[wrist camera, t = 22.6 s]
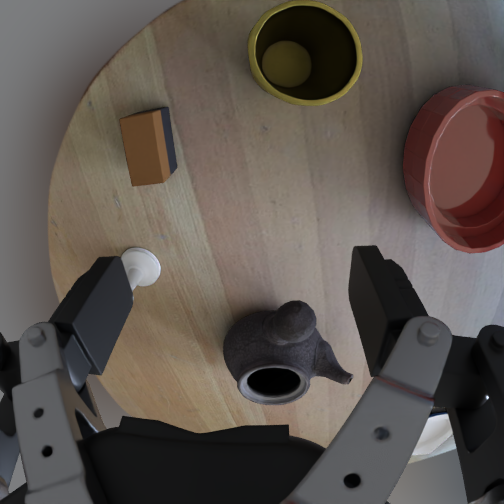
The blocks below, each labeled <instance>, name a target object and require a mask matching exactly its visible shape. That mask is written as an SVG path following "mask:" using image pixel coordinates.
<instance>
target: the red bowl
mask: <svg viewBox="0 0 504 504" xmlns="http://www.w3.org/2000/svg"><path fill="white" fill-rule="evenodd" d="M404 147H405V148H404V160H403V173H404V179H405V186H406V190H407V193H408V195H409V197H410V200H411V202H412V205H413V207H414V208H415V209H416V210H417V212H418V213H419V214H420V215H421V217H422V218H423V219H424V220H425V221H426V222H427V224H428V225H429V226H430V227H431V228H432V229H433V230H434V231H435V232H436V234H437V235H438V236H439V237H440V238H441V239H442V240H443V241H444V242H445V243H447V244H448V245H450V246H451V247H452V248H454V249H456V250H459V251H463V252H467V253H482V252H487V251H490V250H492V249H495V248H498V247H499V246H501V245H503V244H504V92H501V91H498V90H494V89H489V88H484V87H479V86H473V85H467V84H465V85H458V86H451V87H448V88H446V89H444V90H442V91H440V92H439V93H437V94H435V95H433V96H432V97H431V98H430V99H429V100H428V101H427V102H426V103H425V104H424V105H423V106H422V107H421V109H420V110H419V112H418V114H417V116H416V118H415V119H414V121H413V123H412V124H411V127H410V129H409V133H408V136H407V139H406V143H405V146H404Z"/></svg>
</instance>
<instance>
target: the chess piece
mask: <svg viewBox="0 0 504 504" xmlns="http://www.w3.org/2000/svg"><path fill="white" fill-rule="evenodd" d="M121 260H122V262H123V265H124V268H125V271H126V274H127V277H128V280H129V283H130V286H131V289H132V291H133V290H134V288H135V287H136V286H137V285H138V286H149V285H151V284H153V283H154V282H155V281H156V280H157V279H158V277H159V276H160V272H161V267H160V263H159V261H158V259H157V258H156V257H155V256H154V255H153V254H152V253H151V252H149V251H148V250H146V249H143V248H138V247H135V248H130V249H128V250H126V251H125V252H124V253H123V255H122V257H121ZM133 300H134V297H133Z"/></svg>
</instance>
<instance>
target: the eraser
mask: <svg viewBox="0 0 504 504" xmlns="http://www.w3.org/2000/svg"><path fill="white" fill-rule="evenodd" d="M120 126H121V132H122V138H123V143H124V148H125V154H126V159H127V164H128V169H129V174H130V178H131V183H132V186H133V187H134V186H141V185H149V184H158V183H164V182H165V181H166V180H167V179H168V178H169V176H170V175H171V174H172V173H173V172H174V171H175V170H176V169H177V162H176V156H175V149H174V143H173V136H172V129H171V122H170V115H169V108H168V107H163V108H157V109H152V110H147V111H141V112H137V113H135V114H132V115H129V116H126V117H124V118H121V119H120Z"/></svg>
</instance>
